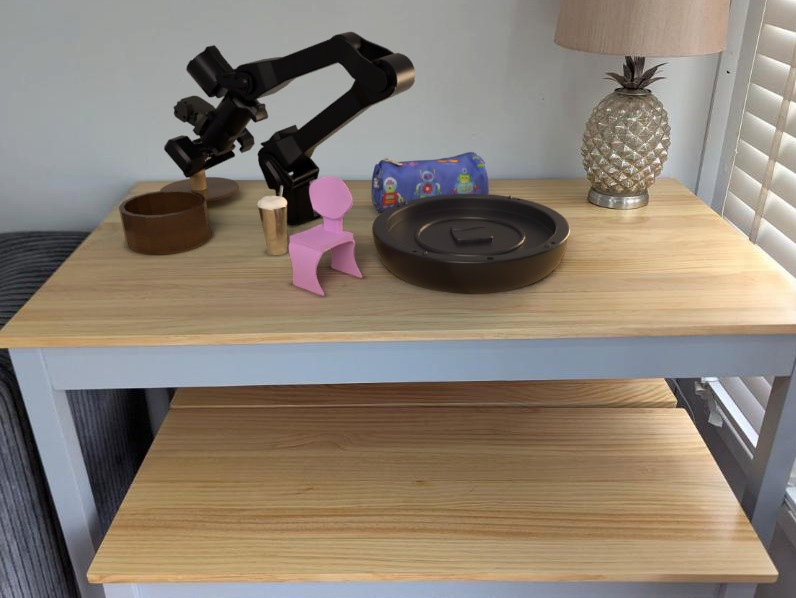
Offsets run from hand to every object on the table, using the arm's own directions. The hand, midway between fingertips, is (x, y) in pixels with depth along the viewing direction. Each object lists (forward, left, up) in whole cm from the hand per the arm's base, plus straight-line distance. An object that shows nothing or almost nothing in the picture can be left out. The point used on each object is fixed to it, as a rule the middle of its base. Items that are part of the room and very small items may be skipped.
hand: (191, 173), depth 145 cm
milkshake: (-32, +6, -5) cm, 33 cm away
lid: (-1, 0, -3) cm, 3 cm away
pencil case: (-36, -26, -5) cm, 45 cm away
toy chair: (-47, +9, -5) cm, 48 cm away
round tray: (-57, -12, -5) cm, 59 cm away
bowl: (-14, +15, -5) cm, 21 cm away
